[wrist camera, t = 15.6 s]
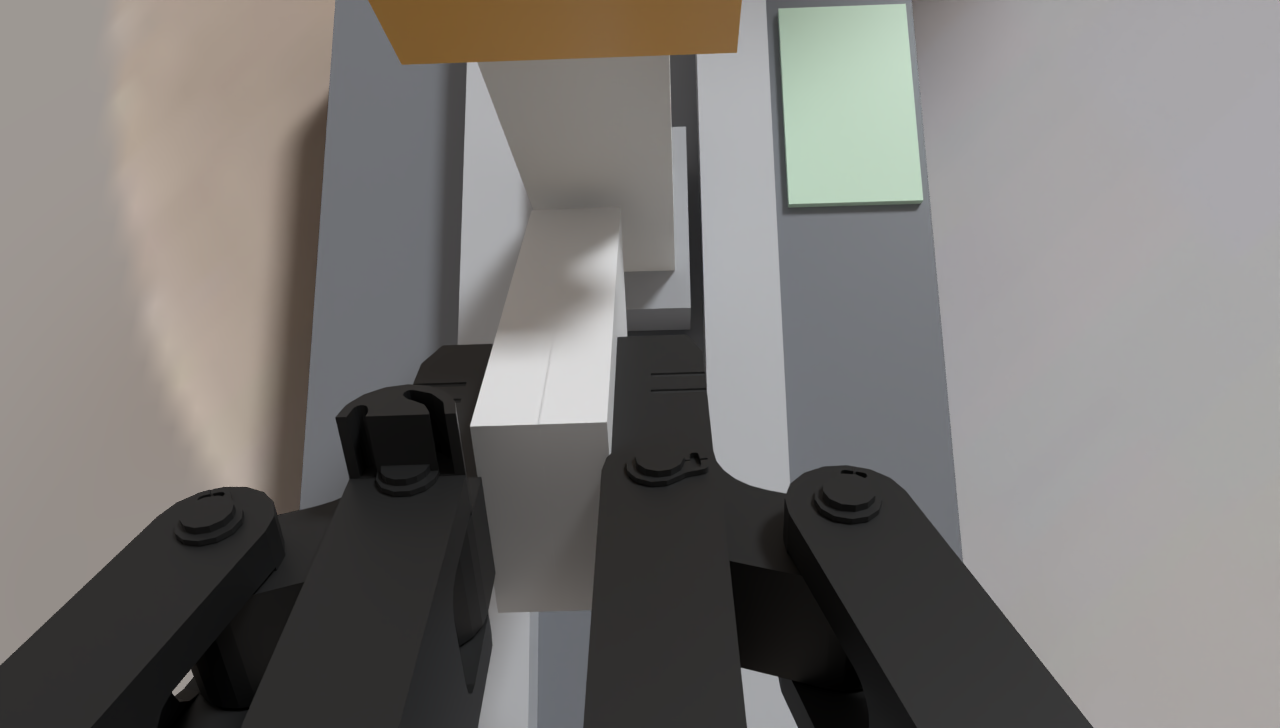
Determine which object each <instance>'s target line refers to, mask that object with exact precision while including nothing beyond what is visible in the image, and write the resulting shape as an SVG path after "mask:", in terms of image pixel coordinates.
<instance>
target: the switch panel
mask: <svg viewBox="0 0 1280 728" xmlns="http://www.w3.org/2000/svg"><path fill="white" fill-rule="evenodd" d="M670 85H671V124H672V127H686V149H687V186H688V224H689V261H690V298H691V319H690V330H650V331H627V337H629V336H659V335H687V336H688V337H689V338H690V339H691V340H692V341H693V342H694V343H695V344H696V345H697V346H698V347H699V348H700V349H701V350H702V351H703V357H704V367H705V376H706V386H707V395H708V405H709V414H710V424H711V433H712V443H713V451H714V455H715V458H716V461H717V462H718V463H719V465H720V466H721V467H722V468H723V470H724V471H726V472H727V473H728V474H730V475H731V476H732V477H734V478H735V479H737V480H739V481H741V482H744V483H746V484H748V485H750V486H754V487H758V488H762V489H765V490H770V491H776V492H781V493H787V490H788V488H789V485H790V483H792V482H793V481H794V480H795V479H797V478H798V477H799V476H800V475H802V474H803V473H805V472H808V471H811V470H814V469H817V468H820V467H823V466H840V465H849V466H855V467H861V468H866V469H871V470H873V471H876V472H878V473H880V474H883V475H885V476H887V477H890V478H891V479H893V480H894V481H895V482H896V483H897V484H899V485H900V486H901V487H902V488H903V489H904V490H906V491H907V493H908V494H909V495H910V497H911V498H912V499H913V500H914V502H915V503H916V504H917V505H918V507H919V508H920V509H921V510H922V512H923V513H924V514H925V515H926V517H927V518H928V519H929V521H930V522H931V523H932V524H933V526H934V527H935V528H936V529H937V531H938V532H939V533H940V534H941V536H942V537H943V538H944V540H945V541H946V542H947V543H948V545H949V546H950V547H951V548H952V550H953V551H954V552H955V553H956V555H957V556H958V557H959V558H960V560H961V561H962V562H963V559H962V548H961V537H960V526H959V515H958V504H957V493H956V482H955V471H954V460H953V449H952V438H951V427H950V416H949V405H948V394H947V383H946V372H945V361H944V350H943V339H942V328H941V317H940V306H939V295H938V284H937V273H936V262H935V251H934V240H933V229H932V218H931V207H930V196H929V185H928V174H927V163H926V152H925V141H924V130H923V119H922V108H921V97H920V86H919V75H918V64H917V54H916V43H915V32H914V21H913V10H912V0H742V5H741V15H740V26H739V36H738V47H737V53H718V54H690V55H670ZM531 210H533V208H532V205H531V202H530V200H529V197H528V195H527V192H526V189H525V187H524V184H523V181H522V179H521V176H520V173H519V171H518V168H517V166H516V163H515V160H514V158H513V155H512V152H511V150H510V147H509V145H508V142H507V139H506V137H505V134H504V131H503V129H502V126H501V123H500V121H499V118H498V116H497V113H496V110H495V108H494V105H493V102H492V100H491V97H490V94H489V92H488V89H487V87H486V84H485V81H484V79H483V76H482V73H481V71H480V68H479V66H478V63H477V62H466V63H438V64H410V65H402V64H401V62H400V60H399V58H398V57H397V55H396V53H395V51H394V49H393V47H392V45H391V43H390V41H389V39H388V37H387V35H386V34H385V32H384V30H383V28H382V26H381V24H380V22H379V20H378V18H377V16H376V14H375V12H374V11H373V9H372V7H371V5H370V3H369V1H368V0H336V1H335V15H334V29H333V43H332V57H331V72H330V86H329V100H328V114H327V128H326V143H325V157H324V171H323V185H322V200H321V214H320V228H319V242H318V256H317V271H316V285H315V299H314V313H313V327H312V342H311V356H310V370H309V384H308V398H307V413H306V427H305V441H304V455H303V470H302V484H301V498H300V510H302V509H306V508H311V507H315V506H318V505H322V504H325V503H328V502H332V501H334V500H337V499H339V498H341V497H342V495H343V492H344V490H345V488H346V485H347V483H348V481H349V475H348V471H347V466H346V462H345V458H344V453H343V449H342V445H341V440H340V436H339V432H338V427H337V423H336V419H335V417H336V416H337V415H338V414H339V412H340V411H341V410H342V409H343V408H344V407H345V405H347V404H348V403H350V402H352V401H353V400H355V399H357V398H358V397H360V396H362V395H363V394H366V393H369V392H372V391H375V390H378V389H381V388H385V387H391V386H399V385H406V384H411V385H413V383H414V380H415V378H416V375H417V373H418V370H419V368H420V365H421V363H423V362H424V361H425V360H426V359H427V358H428V357H430V356H431V355H432V354H433V353H434V352H435V351H437V350H438V349H439V348H440V347H441V346H443V345H468V344H494V340H495V337H496V333H497V330H498V326H499V323H500V319H501V316H502V312H503V309H504V305H505V302H506V298H507V294H508V291H509V287H510V284H511V280H512V277H513V273H514V270H515V266H516V263H517V259H518V256H519V252H520V249H521V245H522V242H523V238H524V235H525V231H526V228H527V224H528V221H529V217H530V214H531ZM591 611H592V610H583V611H549V612H511V613H498V609H497V603H496V596H495V589H494V584H493V589H492V594H491V599H490V605H489V610H488V613H489V619H490V625H491V632H492V644H493V646H492V652H491V657H490V663H489V668H488V674H487V679H486V685H485V691H484V696H483V702H482V707H481V713H480V719H479V724H478V728H583V723H584V709H585V695H586V681H587V667H588V653H589V639H590V625H591ZM741 675H742V684H743V694H744V703H745V713H746V722H747V728H798V727H797V725H796V722H795V720H794V718H793V716H792V714H791V712H790V710H789V707H788V705H787V703H786V701H785V699H784V697H783V695H782V692H781V689H780V684H779V679H778V677H777V676H773V675H769V674H764V673H760V672H756V671H752V670H748V669H744V668H741Z"/></svg>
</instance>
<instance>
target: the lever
mask: <svg viewBox="0 0 1280 728" xmlns="http://www.w3.org/2000/svg"><path fill="white" fill-rule="evenodd" d="M368 1H369V3H370V5H371V7H372V9H373V11H374V12H375V14H376V16H377V18H378V20H379V22H380V24H381V26H382V28H383V30H384V32H385V34H386V35H387V37H388V39H389V41H390V43H391V45H392V47H393V49H394V51H395V53H396V55H397V57H398V58H399V60H400V62H401V64H402V65H410V64H438V63H466V62H477V63H478V66H479V68H480V71H481V73H482V76H483V79H484V81H485V84H486V87H487V89H488V92H489V94H490V97H491V100H492V102H493V105H494V108H495V110H496V113H497V116H498V118H499V121H500V123H501V126H502V129H503V131H504V134H505V137H506V139H507V142H508V145H509V147H510V150H511V152H512V155H513V158H514V160H515V163H516V166H517V168H518V171H519V173H520V176H521V179H522V181H523V184H524V187H525V189H526V192H527V195H528V197H529V200H530V202H531V205H532V208H533V210H555V209H582V208H609V207H621V226H622V245H623V264H624V283H625V301H626V320H627V331H650V330H690V319H691V298H690V261H689V224H688V186H687V149H686V127H672V124H671V85H670V55H690V54H718V53H737V47H738V36H739V26H740V15H741V5H742V0H368Z"/></svg>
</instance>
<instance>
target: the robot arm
mask: <svg viewBox="0 0 1280 728" xmlns="http://www.w3.org/2000/svg"><path fill="white" fill-rule="evenodd" d="M335 419H336V423H337V427H338V432H339V436H340V440H341V445H342V449H343V453H344V458H345V462H346V466H347V471H348V475H349V481H348V483H347V485H346V488H345V490H344V492H343V495H342V497H341V498H339V499H337V500H334V501H332V502H328V503H325V504H322V505H318V506H315V507H311V508H306V509H302V510H298V511H293V512H289V513H285V514H280V515H277V513H276V509H275V506H274V502H273V501H272V500H271V499H270V498H269V497H268V496H267V495H266V494H265V493H264V492H261V491H258V490H255V489H251V488H248V487H222V488H217V489H213V490H207V491H203V492H200V493H197V494H195V495H193V496H191V497H189V498H186V499H184V500H182V501H179V502H177V503H176V504H174V505H173V506H171V507H170V508H169V509H167V510H166V511H164V512H163V513H162V514H160V515H159V516H158V517H157V518H156V519H154V520H153V521H152V522H151V523H150V524H149V525H148V526H147V527H146V528H145V529H144V530H143V531H142V532H141V533H140V534H139V535H138V536H137V537H135V538H134V539H133V540H132V541H131V542H130V543H129V544H128V545H127V546H126V547H125V548H124V549H123V550H122V551H121V552H120V553H119V554H118V555H116V557H114V558H113V559H112V560H111V561H110V562H109V563H108V564H107V565H106V566H105V567H104V568H103V569H102V570H101V571H100V572H99V573H97V575H96V576H94V577H93V578H92V579H91V580H90V581H89V582H88V583H87V584H86V585H85V586H84V587H83V588H82V589H81V590H80V591H78V592H77V593H76V594H75V595H74V596H73V597H72V598H71V599H70V600H69V601H68V602H67V603H66V604H65V605H64V606H63V607H62V608H61V609H59V611H57V612H56V613H55V614H54V615H53V616H52V617H51V618H50V619H49V620H48V621H47V622H46V623H45V624H44V625H43V626H42V627H40V629H39V630H38V631H36V632H35V633H34V634H33V635H32V636H31V637H30V638H29V639H28V640H27V641H26V642H25V643H24V644H23V645H21V646H20V647H19V648H18V650H16V651H15V652H14V653H13V654H12V655H11V656H10V657H9V658H8V659H7V660H6V661H5V662H4V663H2V665H0V728H478V724H479V719H480V713H481V707H482V702H483V696H484V691H485V685H486V679H487V674H488V668H489V663H490V657H491V652H492V646H493V644H492V632H491V625H490V619H489V613H488V610H489V605H490V599H491V594H492V589H493V584H494V589H495V596H496V603H497V609H498V613H511V612H549V611H583V610H592V611H591V625H590V639H589V653H588V667H587V681H586V695H585V709H584V723H583V728H747V722H746V713H745V703H744V694H743V684H742V675H741V668H744V669H748V670H752V671H756V672H760V673H764V674H769V675H773V676H777V677H778V679H779V684H780V689H781V692H782V695H783V697H784V699H785V701H786V703H787V705H788V707H789V710H790V712H791V714H792V716H793V718H794V720H795V722H796V725H797V727H798V728H1093V727H1092V725H1091V724H1090V723H1089V722H1088V720H1087V719H1086V718H1085V716H1084V715H1083V714H1082V713H1081V711H1080V710H1079V709H1078V708H1077V706H1076V705H1075V704H1074V703H1073V701H1072V700H1071V699H1070V697H1069V696H1068V695H1067V694H1066V692H1065V691H1064V690H1063V689H1062V687H1061V686H1060V685H1059V684H1058V682H1057V681H1056V680H1055V679H1054V677H1053V676H1052V675H1051V673H1050V672H1049V671H1048V670H1047V668H1046V667H1045V666H1044V665H1043V663H1042V662H1041V661H1040V660H1039V658H1038V657H1037V656H1036V655H1035V653H1034V652H1033V651H1032V649H1031V648H1030V647H1029V646H1028V644H1027V643H1026V642H1025V641H1024V639H1023V638H1022V637H1021V636H1020V634H1019V633H1018V632H1017V631H1016V629H1015V628H1014V627H1013V625H1012V624H1011V623H1010V622H1009V620H1008V619H1007V618H1006V617H1005V615H1004V614H1003V613H1002V612H1001V610H1000V609H999V608H998V606H997V605H996V604H995V603H994V601H993V600H992V599H991V598H990V596H989V595H988V594H987V593H986V591H985V590H984V589H983V588H982V586H981V585H980V584H979V582H978V581H977V580H976V579H975V577H974V576H973V575H972V574H971V572H970V571H969V570H968V569H967V567H966V566H965V565H964V564H963V562H962V561H961V560H960V558H959V557H958V556H957V555H956V553H955V552H954V551H953V550H952V548H951V547H950V546H949V545H948V543H947V542H946V541H945V540H944V538H943V537H942V536H941V534H940V533H939V532H938V531H937V529H936V528H935V527H934V526H933V524H932V523H931V522H930V521H929V519H928V518H927V517H926V515H925V514H924V513H923V512H922V510H921V509H920V508H919V507H918V505H917V504H916V503H915V502H914V500H913V499H912V498H911V497H910V495H909V494H908V493H907V491H906V490H904V489H903V488H902V487H901V486H900V485H899V484H897V483H896V482H895V481H894V480H893V479H891V478H890V477H887V476H885V475H883V474H880V473H878V472H876V471H873V470H871V469H866V468H861V467H855V466H849V465H840V466H823V467H820V468H817V469H814V470H811V471H808V472H805V473H803V474H802V475H800V476H799V477H798V478H797V479H795V480H794V481H793V482H792V483H790V485H789V488H788V490H787V493H781V492H776V491H770V490H765V489H762V488H758V487H754V486H750V485H748V484H746V483H744V482H741V481H739V480H737V479H735V478H734V477H732V476H731V475H730V474H728V473H727V472H726V471H724V470H723V468H722V467H721V466H720V465H719V463H718V462H717V461H716V458H715V455H714V451H713V443H712V433H711V424H710V414H709V405H708V395H707V386H706V376H705V367H704V357H703V351H702V350H701V349H700V348H699V347H698V346H697V345H696V344H695V343H694V342H693V341H692V340H691V339H690V338H689V337H688V336H687V335H659V336H629V337H627V320H626V301H625V283H624V264H623V245H622V226H621V207H609V208H582V209H555V210H531V214H530V217H529V221H528V224H527V228H526V231H525V235H524V238H523V242H522V245H521V249H520V252H519V256H518V259H517V263H516V266H515V270H514V273H513V277H512V280H511V284H510V287H509V291H508V294H507V298H506V302H505V305H504V309H503V312H502V316H501V319H500V323H499V326H498V330H497V333H496V337H495V340H494V344H468V345H443V346H441V347H440V348H439V349H438V350H437V351H435V352H434V353H433V354H432V355H431V356H430V357H428V358H427V359H426V360H425V361H424V362H423V363H421V365H420V368H419V370H418V373H417V375H416V378H415V380H414V383H413V385H411V384H406V385H399V386H391V387H385V388H381V389H378V390H375V391H372V392H369V393H366V394H363V395H362V396H360V397H358V398H357V399H355V400H353V401H352V402H350V403H348V404H347V405H345V407H344V408H343V409H342V410H341V411H340V412H339V414H338V415H337V416H336V417H335ZM190 669H191V670H192V673H193V676H194V677H193V679H192V680H191V681H190V682H189V683H188V685H187V686H186V687H185V689H183V690H182V691H181V692H179V693H178V694H177V695H176V696H174V695H173V694H172V691H173V690H174V689H175V687H176V686H177V685H178V684H179V683H180V681H181V680H182V679H183V678H184V677H185V675H186V674H187V673H188V672H189V671H190Z"/></svg>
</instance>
